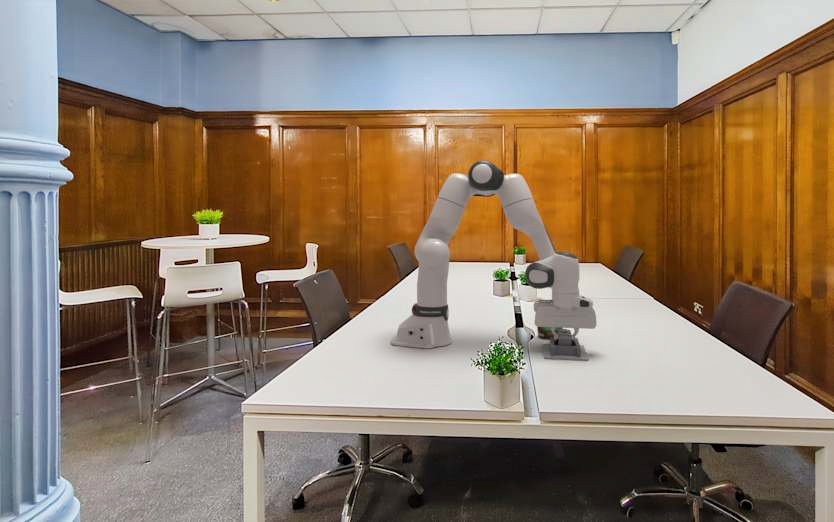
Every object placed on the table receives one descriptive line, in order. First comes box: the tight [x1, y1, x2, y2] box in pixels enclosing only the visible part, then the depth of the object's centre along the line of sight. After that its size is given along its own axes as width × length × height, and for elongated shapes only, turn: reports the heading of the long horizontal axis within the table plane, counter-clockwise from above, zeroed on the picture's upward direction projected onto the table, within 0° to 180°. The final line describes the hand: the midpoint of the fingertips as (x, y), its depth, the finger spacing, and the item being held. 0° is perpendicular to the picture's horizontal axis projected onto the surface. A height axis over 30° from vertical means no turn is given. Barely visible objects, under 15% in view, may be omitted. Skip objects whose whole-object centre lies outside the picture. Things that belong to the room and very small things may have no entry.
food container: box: [536, 326, 564, 340], centre depth 197 cm, size 12×6×10 cm, turn 105°
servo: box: [558, 328, 573, 346], centre depth 177 cm, size 4×9×5 cm, turn 168°
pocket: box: [542, 337, 589, 362], centre depth 178 cm, size 14×17×4 cm
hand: (564, 340), depth 177 cm, fingers closed on servo, 4 cm apart
